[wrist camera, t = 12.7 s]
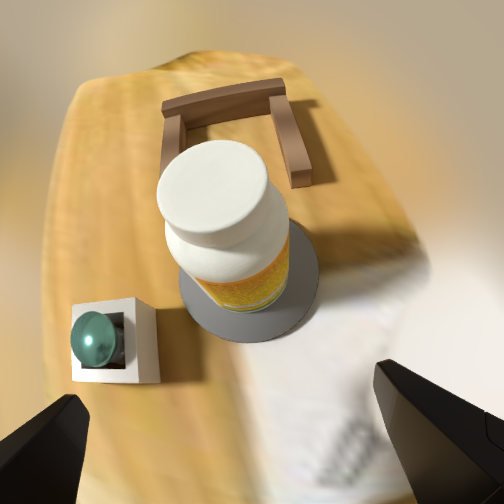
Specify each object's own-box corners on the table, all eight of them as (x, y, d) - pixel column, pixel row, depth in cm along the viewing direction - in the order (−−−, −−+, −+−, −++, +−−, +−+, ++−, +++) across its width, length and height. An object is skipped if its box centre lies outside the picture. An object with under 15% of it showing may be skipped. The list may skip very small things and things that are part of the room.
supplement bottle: (188, 280, 19) (112, 198, 10) (241, 220, 20) (208, 111, 11) (252, 333, 17) (212, 286, 8) (306, 265, 18) (319, 163, 10)
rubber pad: (330, 329, 17) (332, 328, 17) (186, 350, 18) (183, 349, 17) (302, 204, 21) (302, 199, 20) (180, 225, 21) (177, 221, 21)
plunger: (143, 369, 17) (113, 366, 14) (103, 370, 17) (71, 365, 14) (141, 321, 18) (112, 308, 15) (102, 325, 18) (70, 313, 15)
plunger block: (160, 382, 17) (139, 382, 14) (98, 382, 17) (72, 380, 14) (155, 309, 19) (135, 296, 16) (96, 315, 19) (72, 304, 16)
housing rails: (311, 185, 21) (312, 159, 19) (167, 211, 22) (152, 189, 19) (283, 102, 26) (281, 77, 23) (172, 123, 26) (162, 101, 24)
